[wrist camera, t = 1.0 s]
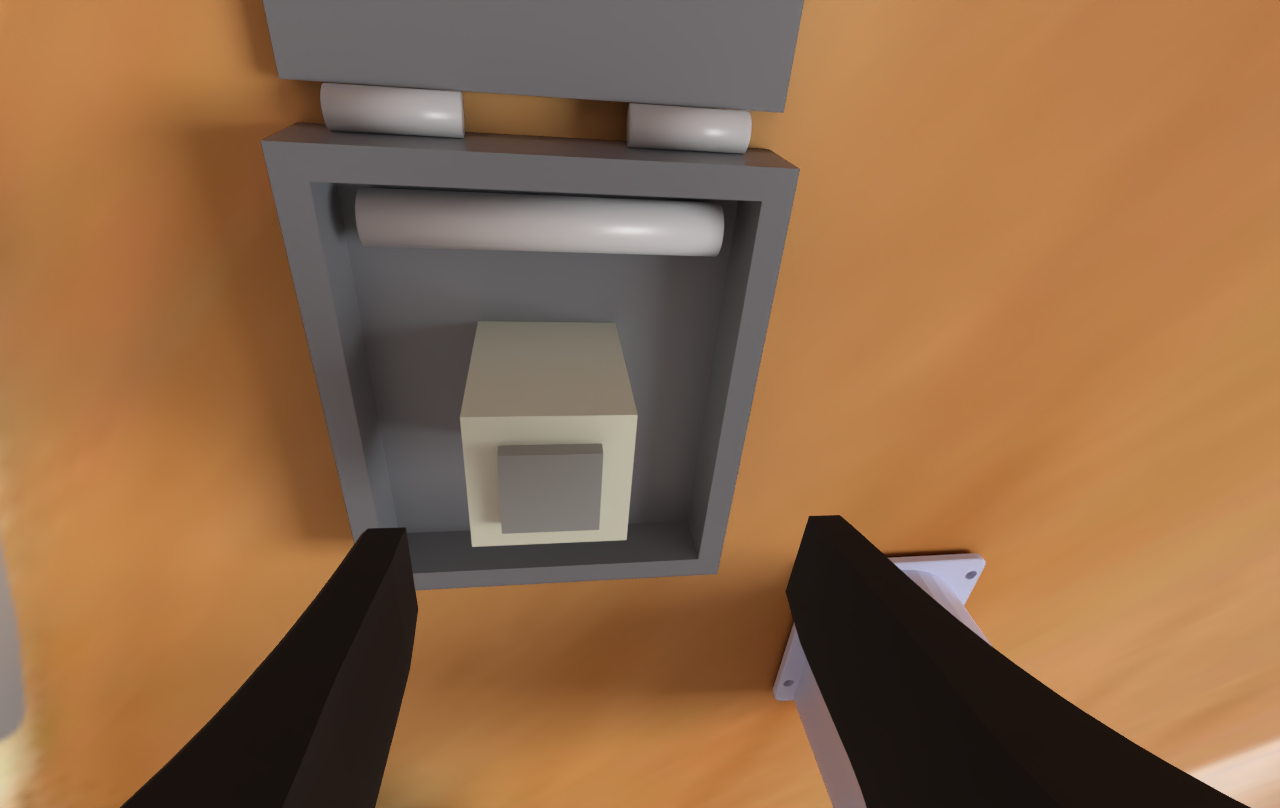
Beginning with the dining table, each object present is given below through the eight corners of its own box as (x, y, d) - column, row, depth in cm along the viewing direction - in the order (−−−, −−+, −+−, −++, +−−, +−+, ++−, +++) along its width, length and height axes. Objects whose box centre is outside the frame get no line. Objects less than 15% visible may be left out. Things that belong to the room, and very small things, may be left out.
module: (608, 432, 21) (628, 551, 16) (485, 433, 20) (470, 558, 16) (615, 322, 19) (640, 424, 14) (477, 321, 18) (458, 427, 13)
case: (702, 527, 24) (716, 573, 22) (381, 540, 23) (366, 592, 21) (768, 149, 17) (799, 168, 15) (297, 122, 15) (260, 140, 13)
